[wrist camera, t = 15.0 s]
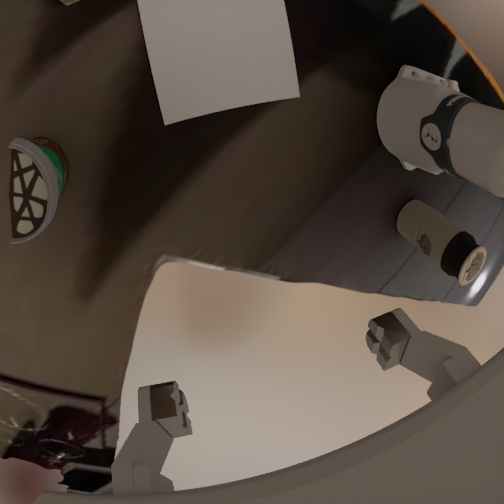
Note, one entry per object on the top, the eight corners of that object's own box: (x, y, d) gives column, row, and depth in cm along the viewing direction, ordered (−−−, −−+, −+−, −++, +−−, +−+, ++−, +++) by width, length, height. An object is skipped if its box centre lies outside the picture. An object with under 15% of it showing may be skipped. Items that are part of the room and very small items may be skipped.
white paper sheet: (277, -22, 26) (278, -23, 26) (298, 96, 36) (300, 96, 36) (137, -2, 24) (136, -3, 24) (164, 124, 34) (164, 125, 34)
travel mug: (427, 197, 52) (492, 242, 38) (418, 232, 56) (477, 281, 42) (399, 199, 50) (469, 249, 36) (391, 237, 55) (452, 291, 40)
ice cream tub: (73, 216, 37) (53, 254, 28) (36, 211, 34) (9, 247, 26) (82, 129, 31) (57, 145, 23) (42, 125, 29) (8, 141, 21)
